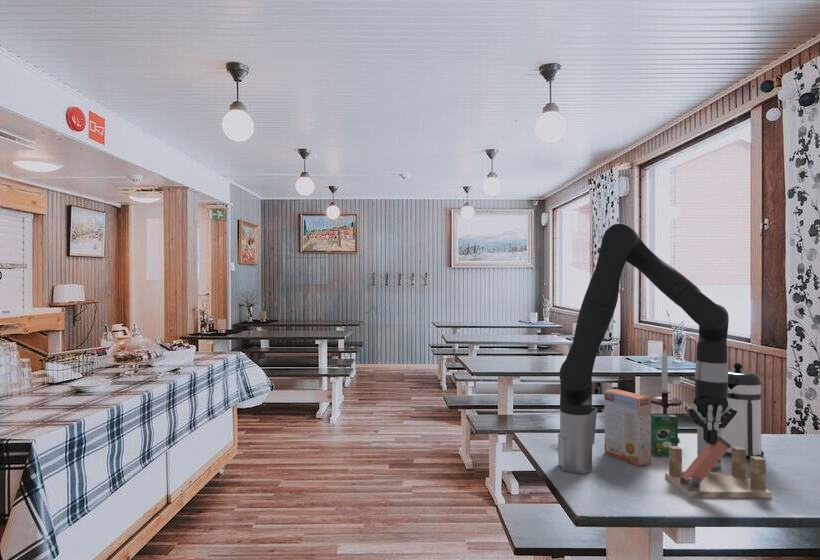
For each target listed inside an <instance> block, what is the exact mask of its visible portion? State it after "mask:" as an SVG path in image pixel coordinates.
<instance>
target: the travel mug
mask: <svg viewBox="0 0 820 560" xmlns="http://www.w3.org/2000/svg"><path fill="white" fill-rule="evenodd" d="M697 412H698V413H697V414H698V416H699V417H700V418H701V413H700V412H699V411H698V409H697ZM701 420H702V418H701ZM696 426H697V427H696V428H697V429H696V432H697V435H696V436H697V438H696V439H697V440H696V441H697V442H696V443H697V444H696V445H697V446H696V447H697V456H698V455H699V454H700V453H701V452H702V450H703V449H704V448H705V447H706V445H707V444H708V443H706V442H705V440H704V439H703V428H702V427H700V426H698V425H697V424H696ZM717 436H719V437H721V428H720V429H718V430H717ZM697 456H696V457H697ZM722 468H723V466H722V457H721V458H720V460H719V461H718V462H717V463H716V464H715V466H714V467H713V468H712V469H711V471H712V472H713V471H715V472H716V471H721V470H722Z"/></svg>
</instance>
